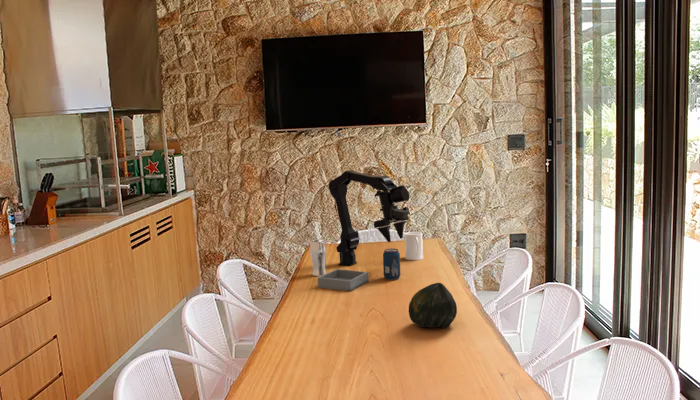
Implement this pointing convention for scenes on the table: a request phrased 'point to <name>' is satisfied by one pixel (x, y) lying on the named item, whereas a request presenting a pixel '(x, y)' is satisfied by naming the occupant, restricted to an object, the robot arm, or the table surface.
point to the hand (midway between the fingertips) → (395, 240)
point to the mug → (414, 245)
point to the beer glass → (318, 256)
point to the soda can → (391, 264)
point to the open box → (343, 280)
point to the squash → (433, 307)
